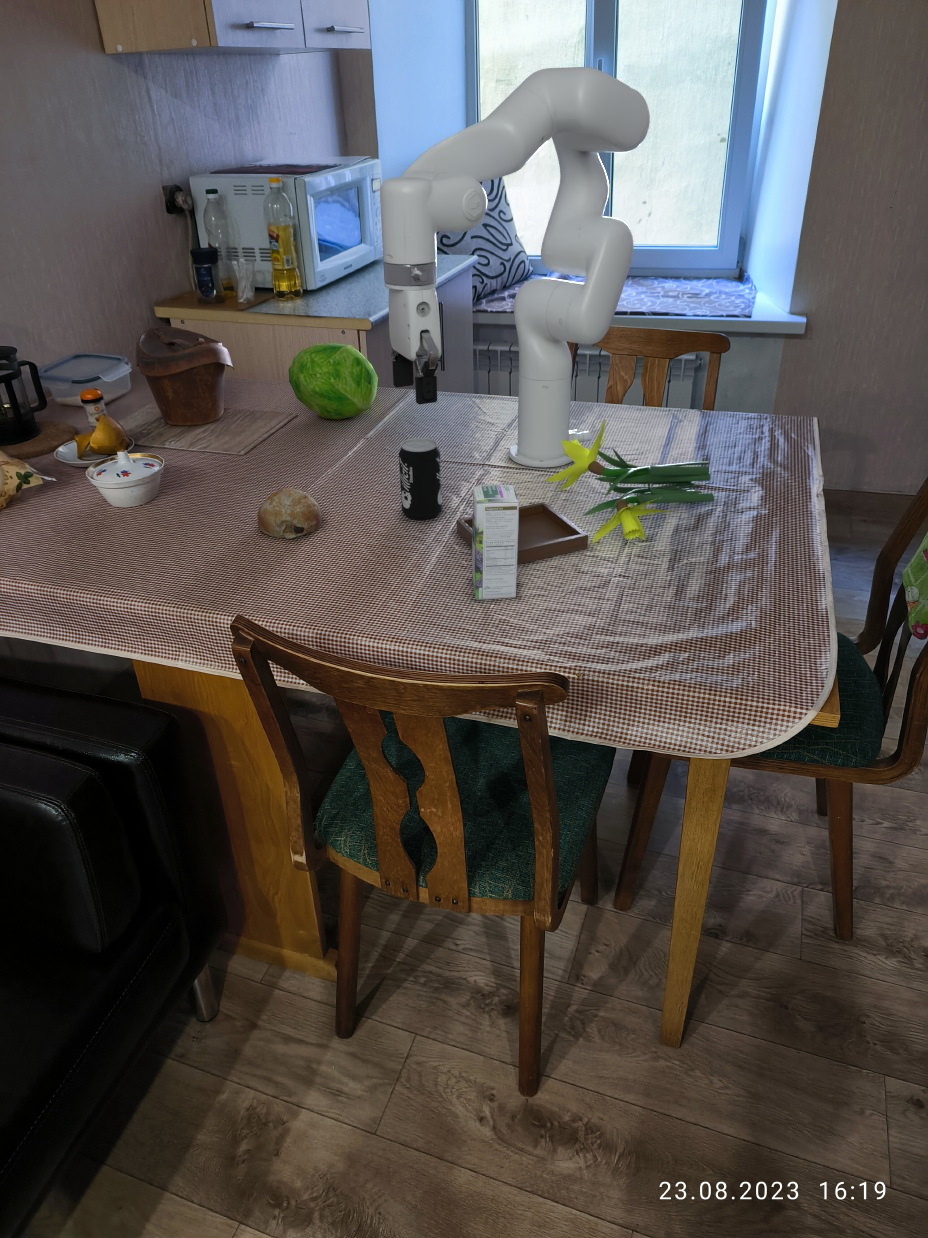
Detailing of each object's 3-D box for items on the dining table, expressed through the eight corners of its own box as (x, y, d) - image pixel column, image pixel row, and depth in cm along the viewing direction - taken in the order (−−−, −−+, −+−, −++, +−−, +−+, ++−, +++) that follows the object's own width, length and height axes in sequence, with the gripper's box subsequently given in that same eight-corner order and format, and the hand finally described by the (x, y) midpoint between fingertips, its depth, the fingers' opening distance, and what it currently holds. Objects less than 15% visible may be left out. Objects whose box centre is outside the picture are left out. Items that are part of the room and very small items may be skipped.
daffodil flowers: (752, 520, 139) (625, 532, 115) (676, 542, 149) (544, 557, 125) (729, 419, 139) (598, 410, 115) (655, 448, 150) (520, 445, 126)
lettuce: (401, 405, 189) (367, 339, 190) (373, 385, 169) (334, 312, 170) (337, 444, 193) (303, 380, 194) (302, 429, 173) (264, 357, 174)
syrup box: (471, 580, 122) (470, 485, 114) (512, 578, 122) (514, 482, 115) (475, 600, 117) (474, 502, 109) (518, 598, 117) (520, 500, 110)
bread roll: (268, 561, 136) (268, 527, 129) (248, 514, 140) (247, 479, 134) (327, 546, 140) (330, 513, 133) (306, 501, 144) (308, 467, 138)
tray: (544, 514, 140) (544, 501, 139) (587, 548, 130) (588, 534, 128) (456, 533, 135) (456, 519, 134) (494, 570, 124) (494, 556, 123)
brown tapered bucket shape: (230, 430, 178) (216, 342, 169) (135, 431, 178) (115, 343, 169) (250, 403, 193) (237, 321, 184) (162, 404, 194) (145, 322, 184)
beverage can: (437, 523, 138) (434, 452, 132) (397, 520, 139) (393, 449, 133) (446, 506, 144) (443, 437, 137) (408, 504, 145) (404, 435, 138)
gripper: (458, 282, 117) (460, 406, 126) (413, 264, 130) (417, 377, 139) (407, 286, 114) (411, 413, 123) (366, 267, 128) (373, 382, 137)
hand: (414, 394), depth 131 cm, fingers open, 9 cm apart
